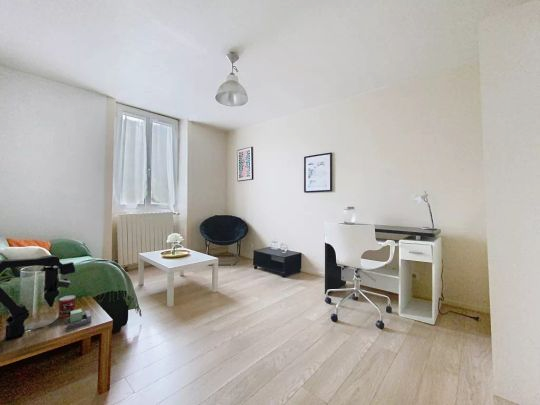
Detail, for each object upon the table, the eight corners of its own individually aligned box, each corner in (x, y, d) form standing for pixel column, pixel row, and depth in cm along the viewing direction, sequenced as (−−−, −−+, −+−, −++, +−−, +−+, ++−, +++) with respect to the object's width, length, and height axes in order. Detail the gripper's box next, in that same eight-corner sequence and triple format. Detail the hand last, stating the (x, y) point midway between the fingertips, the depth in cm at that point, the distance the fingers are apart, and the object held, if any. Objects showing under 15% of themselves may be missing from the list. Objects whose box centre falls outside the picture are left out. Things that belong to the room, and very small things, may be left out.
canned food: (56, 319, 144) (56, 301, 144) (62, 313, 151) (62, 296, 151) (72, 317, 147) (72, 299, 147) (77, 311, 154) (77, 294, 154)
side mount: (66, 329, 133) (67, 322, 133) (65, 322, 140) (65, 315, 140) (91, 322, 141) (91, 315, 141) (88, 316, 148) (88, 310, 148)
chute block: (71, 326, 136) (71, 314, 136) (70, 323, 140) (70, 311, 140) (82, 323, 140) (82, 311, 140) (80, 320, 143) (81, 308, 143)
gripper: (71, 278, 136) (70, 305, 136) (68, 271, 149) (67, 295, 149) (44, 282, 128) (43, 311, 128) (43, 274, 142) (43, 300, 142)
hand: (50, 304), depth 137 cm, fingers open, 9 cm apart
